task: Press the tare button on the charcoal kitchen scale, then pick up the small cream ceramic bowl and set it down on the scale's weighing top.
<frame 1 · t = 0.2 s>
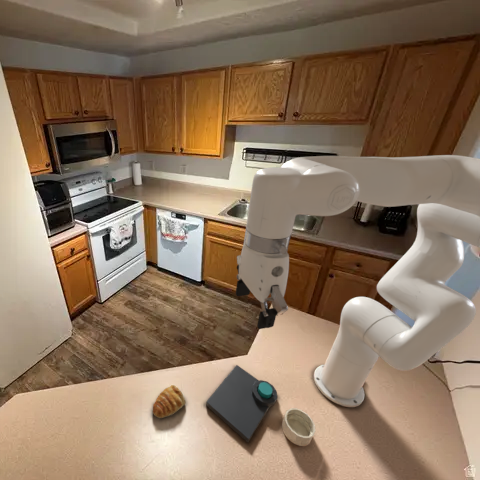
hand: (252, 309, 55), 37 cm above the counter, tool pointing down, fingers open, 9 cm apart
pastry: (169, 404, 74), on the counter
bowl: (295, 431, 67), on the counter
scale: (241, 401, 74), on the counter
tare button: (265, 390, 72), point 4 cm above the counter, slide at 0.1 cm
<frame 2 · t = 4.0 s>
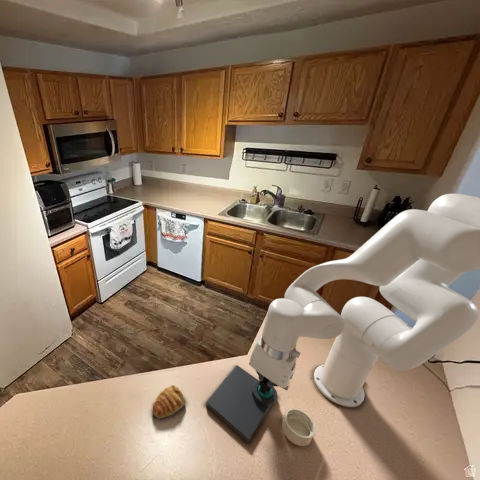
hand: (264, 389, 72), 5 cm above the counter, tool pointing down, fingers closed
tare button: (264, 390, 73), point 4 cm above the counter, slide at -0.1 cm, touching gripper
everything else where it was.
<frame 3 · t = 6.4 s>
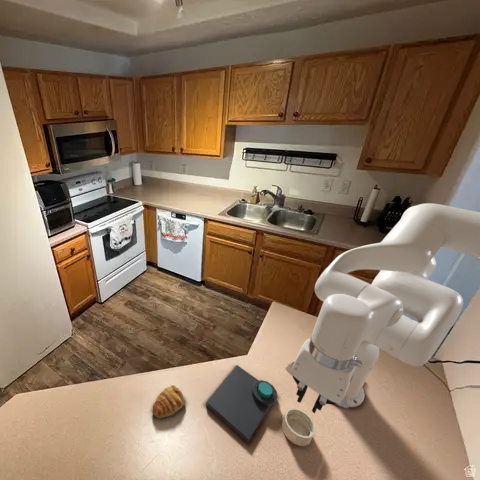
hand: (308, 402, 61), 13 cm above the counter, tool pointing down, fingers closed
tare button: (265, 390, 72), point 4 cm above the counter, slide at 0.1 cm
everything else where it was.
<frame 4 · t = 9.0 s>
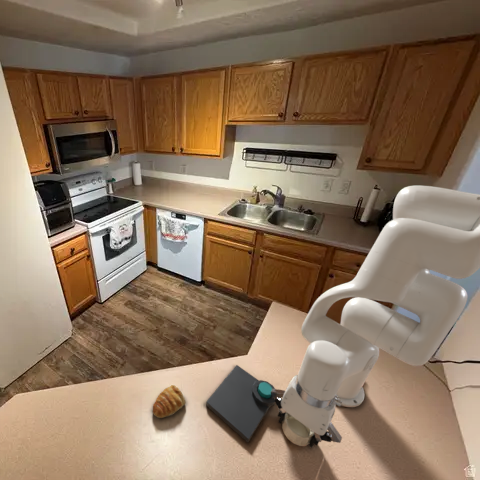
hand: (296, 429, 66), 1 cm above the counter, tool pointing down, fingers closed on bowl, 6 cm apart
bowl: (295, 431, 67), on the counter, touching gripper
everything else where it was.
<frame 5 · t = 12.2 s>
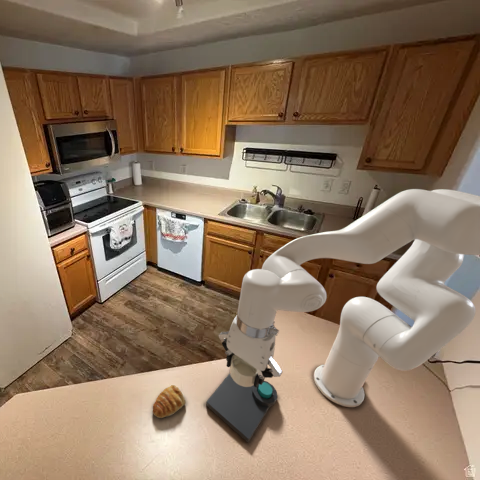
hand: (243, 372, 65), 15 cm above the counter, tool pointing down, fingers closed on bowl, 6 cm apart
bowl: (243, 374, 66), point 14 cm above the counter, touching gripper
everything else where it was.
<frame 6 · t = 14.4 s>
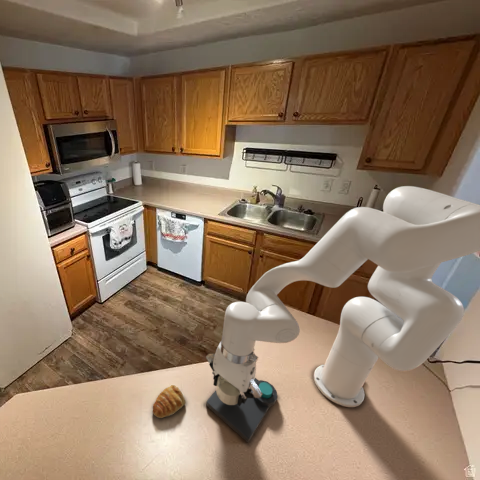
hand: (229, 391, 71), 6 cm above the counter, tool pointing down, fingers closed on bowl, 6 cm apart
bowl: (228, 393, 71), point 5 cm above the counter, touching gripper
everything else where it was.
when the fingers open (3 cm above the counter, at t = 15.7 s): bowl stays where it is, resting on scale.
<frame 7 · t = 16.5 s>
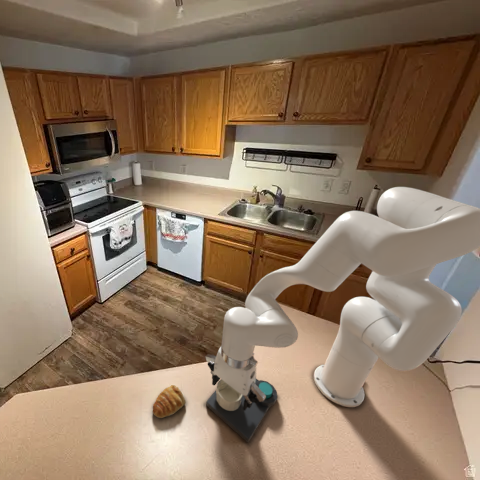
hand: (230, 393, 72), 4 cm above the counter, tool pointing down, fingers open, 9 cm apart
bowl: (228, 398, 73), point 2 cm above the counter, touching scale
everything else where it was.
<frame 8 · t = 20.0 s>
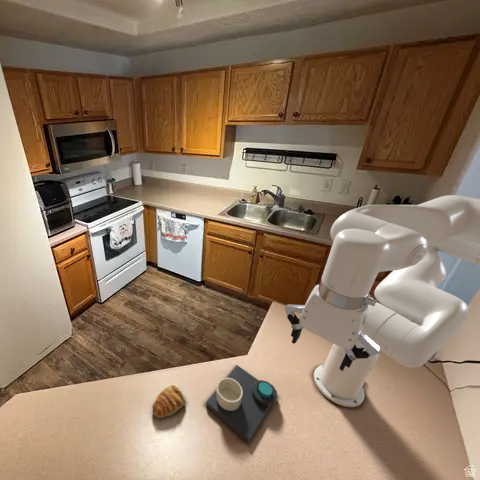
hand: (317, 352, 57), 26 cm above the counter, tool pointing down, fingers open, 9 cm apart
nothing on the counter moved.
at the end: tare button pushed in 0.9 cm at the most during the clip, back to where it started at the end; bowl inside the target area on the scale (0.6 cm from its centre), point 1.9 cm above the scale's base; bowl touching scale; bowl tilted 0° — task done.
